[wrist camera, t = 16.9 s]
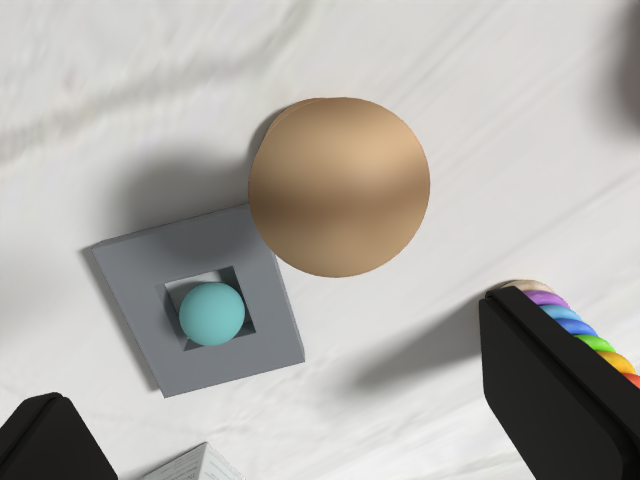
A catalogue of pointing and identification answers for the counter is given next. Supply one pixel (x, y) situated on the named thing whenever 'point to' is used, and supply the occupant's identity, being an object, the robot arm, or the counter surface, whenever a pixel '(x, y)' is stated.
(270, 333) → the square hole board
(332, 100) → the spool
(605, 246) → the counter surface
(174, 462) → the supplement box
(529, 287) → the stacking toy
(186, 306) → the teal ball
